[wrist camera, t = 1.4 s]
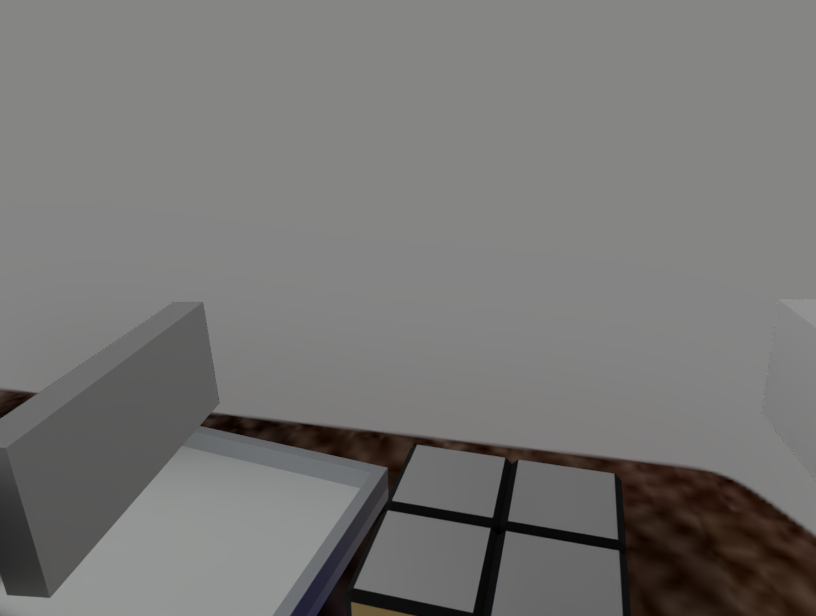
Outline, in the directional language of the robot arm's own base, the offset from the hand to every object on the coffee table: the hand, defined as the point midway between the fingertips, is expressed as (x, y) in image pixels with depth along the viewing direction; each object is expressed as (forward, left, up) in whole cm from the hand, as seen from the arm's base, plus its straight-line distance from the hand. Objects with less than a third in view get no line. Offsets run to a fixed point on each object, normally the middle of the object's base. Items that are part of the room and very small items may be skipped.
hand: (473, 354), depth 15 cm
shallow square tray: (-20, +10, -21) cm, 30 cm away
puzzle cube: (-1, +8, -22) cm, 23 cm away
